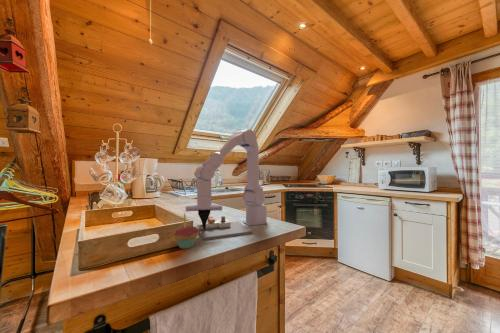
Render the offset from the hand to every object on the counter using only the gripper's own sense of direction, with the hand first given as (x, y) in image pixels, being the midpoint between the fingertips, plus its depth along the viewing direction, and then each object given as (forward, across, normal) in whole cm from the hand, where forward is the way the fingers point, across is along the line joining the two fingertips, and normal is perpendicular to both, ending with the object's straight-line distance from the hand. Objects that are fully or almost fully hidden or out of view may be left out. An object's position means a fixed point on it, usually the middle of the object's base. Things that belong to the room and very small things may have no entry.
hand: (204, 228), depth 94 cm
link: (+1, -4, -4) cm, 6 cm away
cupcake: (+2, +6, +13) cm, 15 cm away
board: (+2, -8, -2) cm, 8 cm away
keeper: (+2, -3, -5) cm, 6 cm away
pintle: (+2, -8, -5) cm, 10 cm away
